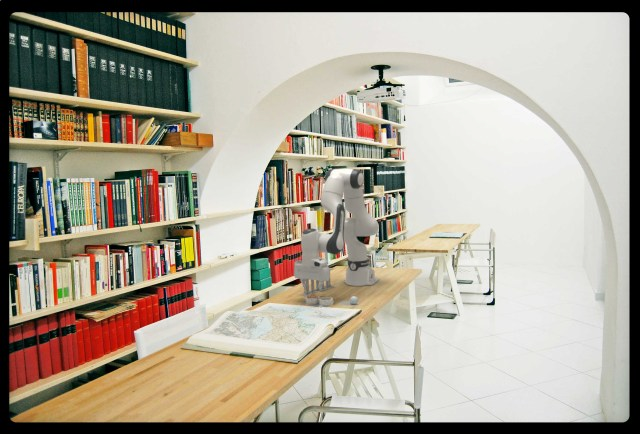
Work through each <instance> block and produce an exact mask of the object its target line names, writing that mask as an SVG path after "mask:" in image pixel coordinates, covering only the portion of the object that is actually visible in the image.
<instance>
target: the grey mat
mask: <svg viewBox="0 0 640 434" xmlns="http://www.w3.org/2000/svg"><path fill="white" fill-rule="evenodd" d="M360 304H361V302H357V303H356V304H351V303H350V301H347V300H342V301H340V302H337V305H340V306H341V305H343V306H350V307H356V306H358V305H360Z"/></svg>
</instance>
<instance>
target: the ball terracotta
mask: <svg viewBox="0 0 640 434" xmlns="http://www.w3.org/2000/svg"><path fill="white" fill-rule="evenodd" d="M316 295H317V294H316V293H314V294H311V295H309V296H310V297H309V298H311V299H312V298H317V296H318V295H317V296H316Z"/></svg>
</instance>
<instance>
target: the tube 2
mask: <svg viewBox="0 0 640 434" xmlns="http://www.w3.org/2000/svg"><path fill="white" fill-rule="evenodd" d="M333 303H334V298H333V297H330V296H321V297H320V298H319V304H320V305H323V306H328V305H330V306H333V305H334V304H333ZM328 307H329V306H328Z"/></svg>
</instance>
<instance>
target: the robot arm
mask: <svg viewBox="0 0 640 434" xmlns="http://www.w3.org/2000/svg"><path fill="white" fill-rule="evenodd" d="M364 180H365V177H364V174H363V172H362V170H360V169H356V168H347V167H345V168H330V169H329V170H328V171H326V173H325V177H324V181H325V183H324V185H323V188H322V193H321V196H320V205H321V207H322V208H323V209H324V210H325V211H326V212H328V213H330V214H331V215H332V216H333V225H332V227H333V229H332V232H331V234H330V233H323V232H320V231H317V229H316V228H307V229H305V230H303V231H302V233H301V238H300V240H301V241H300V245H301V250H302V251H301V252H302V253H301V260H300V259H296V260H295V261H294V264H293V265H294V269H293V277H294V278H295V279H299V281H300V283H301V284H302V288H304V287H307V283H306V279H309V281H311V280H314V281H316V280H318V281H319V285H318V289H322V285H323V283H324V284H325V282H326V281H328V280H329V279H330V280H331V270H329V268H330V267H329V261H328V260H327V259H325V258H323V257H321V256H320V253H327V254H331V255H334V256H335V255H339V254H340V253H341V252H342V251H343V249H344V247H345V245H346V248H347V259H348V260H347V268H346V271H345V280H344V283H345V284H346V285H348V286H351V287H352V286H353V287H361V286H373V285H374V284H376V283H377V282H378V281H379V279H380V278H379V277H376V274H375V270H374V269H373V268H372V267H371V266H370V263H371V258H368V251H367V250H368V248H367V246H366V244H365V243H363V242H362V241H360V240H359V239H358V237H371V236H375V235H376V234H377V233H378V231H379V228H380V227H379V226H380V225H379V223H378V220H377V219H376V218H374V217H373V216H371V214H370V213H369V212H368V210H367V208H366V206H365V205H366V204H365V200H364V192H363V191H364V189H363V185H364ZM343 202H344V205H343ZM346 211H347V213H348V214H349V213H350V214H352V215H353V216H354V217H346ZM327 265H328V266H327ZM304 280H305V281H304Z"/></svg>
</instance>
